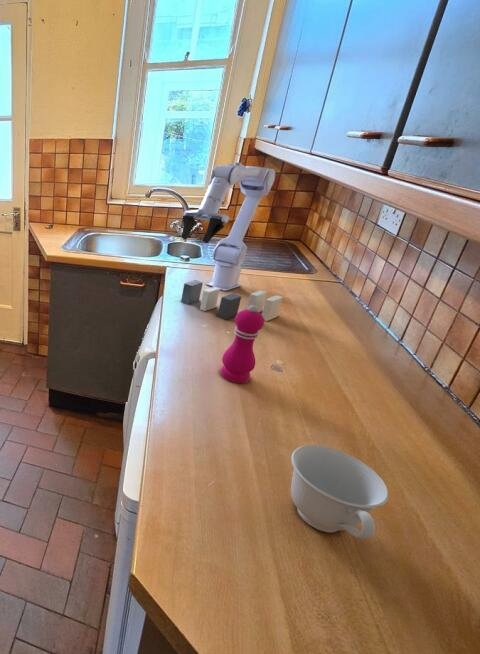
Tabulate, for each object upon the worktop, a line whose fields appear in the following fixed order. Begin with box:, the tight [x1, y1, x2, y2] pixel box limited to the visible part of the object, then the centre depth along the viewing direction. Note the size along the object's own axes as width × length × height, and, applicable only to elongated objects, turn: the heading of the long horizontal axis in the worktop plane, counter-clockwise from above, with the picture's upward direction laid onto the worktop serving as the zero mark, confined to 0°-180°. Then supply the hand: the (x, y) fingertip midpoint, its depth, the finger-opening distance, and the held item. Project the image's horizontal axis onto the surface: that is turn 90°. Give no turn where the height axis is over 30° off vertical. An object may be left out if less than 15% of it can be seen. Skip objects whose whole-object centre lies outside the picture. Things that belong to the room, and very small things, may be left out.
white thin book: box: [199, 286, 221, 312], centre depth 138 cm, size 6×2×7 cm, turn 120°
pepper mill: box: [220, 305, 265, 384], centre depth 99 cm, size 7×7×20 cm
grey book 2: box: [216, 292, 242, 320], centre depth 132 cm, size 6×3×7 cm, turn 120°
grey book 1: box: [180, 279, 204, 305], centre depth 143 cm, size 6×3×7 cm, turn 120°
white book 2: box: [261, 294, 284, 322], centre depth 130 cm, size 6×2×7 cm, turn 120°
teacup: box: [290, 444, 390, 540], centre depth 64 cm, size 12×15×10 cm
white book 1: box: [246, 289, 268, 313], centre depth 134 cm, size 6×2×7 cm, turn 120°
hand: (194, 240), depth 131 cm, fingers open, 7 cm apart
